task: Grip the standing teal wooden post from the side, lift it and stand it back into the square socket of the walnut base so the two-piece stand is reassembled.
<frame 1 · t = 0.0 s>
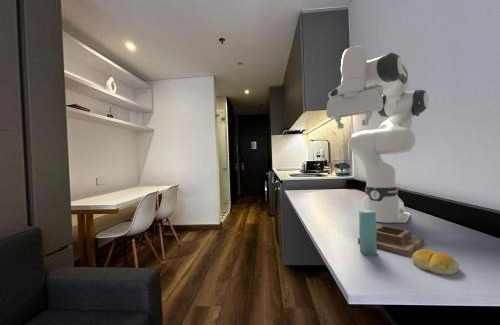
hand: (352, 126, 87), 39 cm above the table, tool pointing down, fingers open, 8 cm apart
teal post: (368, 252, 69), on the table
walnut base: (390, 242, 75), on the table
bread roll: (434, 268, 59), on the table
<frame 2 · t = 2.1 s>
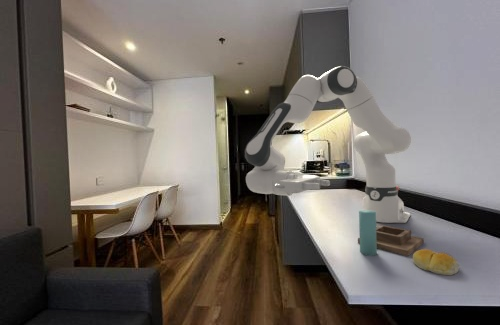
hand: (324, 184, 75), 19 cm above the table, tool horizontal, fingers open, 8 cm apart
nothing on the table moved.
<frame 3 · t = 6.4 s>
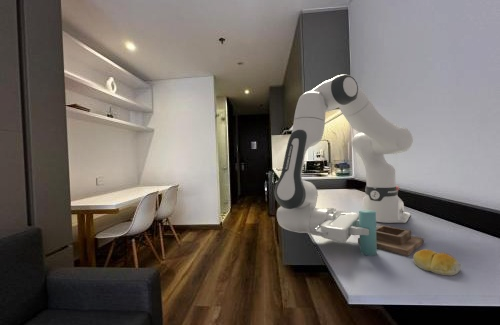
hand: (371, 229, 68), 7 cm above the table, tool horizontal, fingers closed on teal post, 4 cm apart
teal post: (368, 252, 69), on the table, touching gripper
everything else where it was.
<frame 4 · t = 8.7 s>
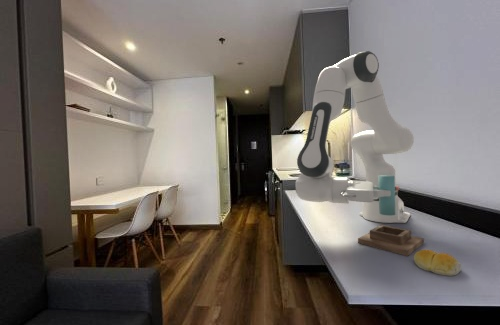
hand: (390, 191, 74), 17 cm above the table, tool horizontal, fingers closed on teal post, 4 cm apart
teal post: (387, 213, 74), point 10 cm above the table, touching gripper
everything else where it was.
when the fingers open (10 cm above the table, at t = 10.9 s): teal post drops 1 cm, resting on walnut base.
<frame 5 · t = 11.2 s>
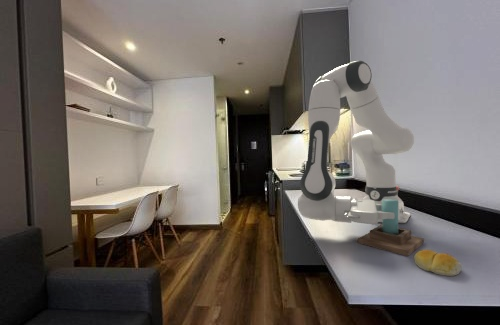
hand: (392, 212, 74), 10 cm above the table, tool horizontal, fingers open, 7 cm apart
teal post: (390, 237, 75), point 2 cm above the table, touching walnut base
everything else where it was.
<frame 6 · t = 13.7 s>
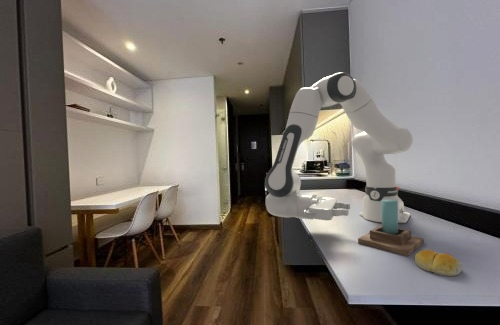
hand: (349, 209, 80), 10 cm above the table, tool horizontal, fingers open, 8 cm apart
nothing on the table moved.
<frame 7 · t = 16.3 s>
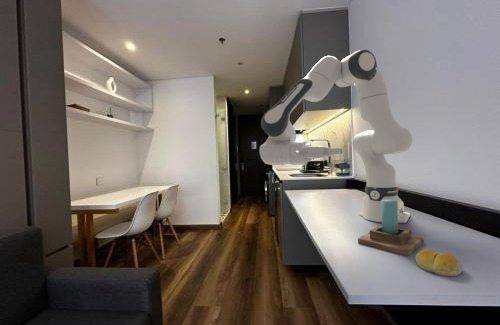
hand: (341, 151, 81), 30 cm above the table, tool horizontal, fingers open, 8 cm apart
nothing on the table moved.
at the end: teal post 0.1 cm off-centre on the walnut base, point 1.5 cm above the walnut base's base; teal post tilted 1°; the gripper is holding nothing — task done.
